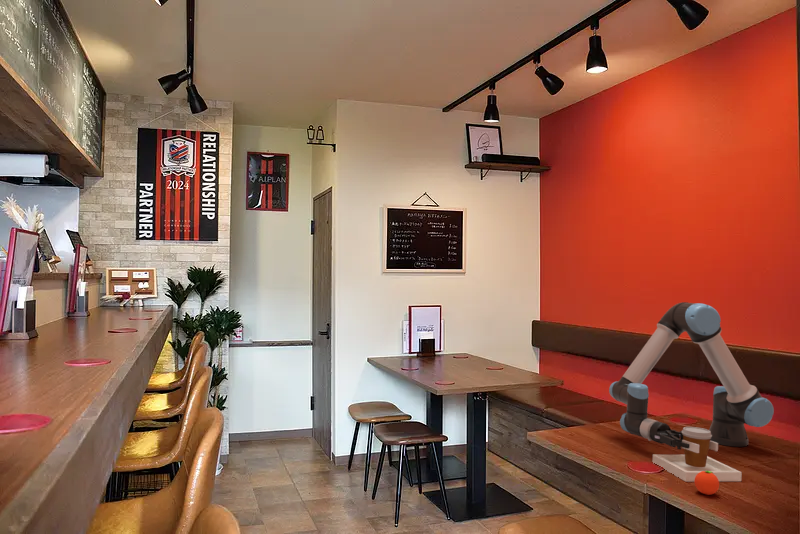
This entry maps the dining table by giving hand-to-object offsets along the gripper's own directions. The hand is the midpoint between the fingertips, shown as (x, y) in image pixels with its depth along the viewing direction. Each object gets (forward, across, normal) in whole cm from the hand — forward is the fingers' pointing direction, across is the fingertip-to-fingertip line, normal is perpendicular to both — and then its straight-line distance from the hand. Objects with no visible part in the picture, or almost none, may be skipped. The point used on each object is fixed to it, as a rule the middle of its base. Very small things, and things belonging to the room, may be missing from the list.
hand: (707, 448), depth 212 cm
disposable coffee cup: (-5, 0, -7) cm, 9 cm away
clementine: (+13, +15, -10) cm, 22 cm away
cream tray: (-5, 0, -10) cm, 11 cm away
